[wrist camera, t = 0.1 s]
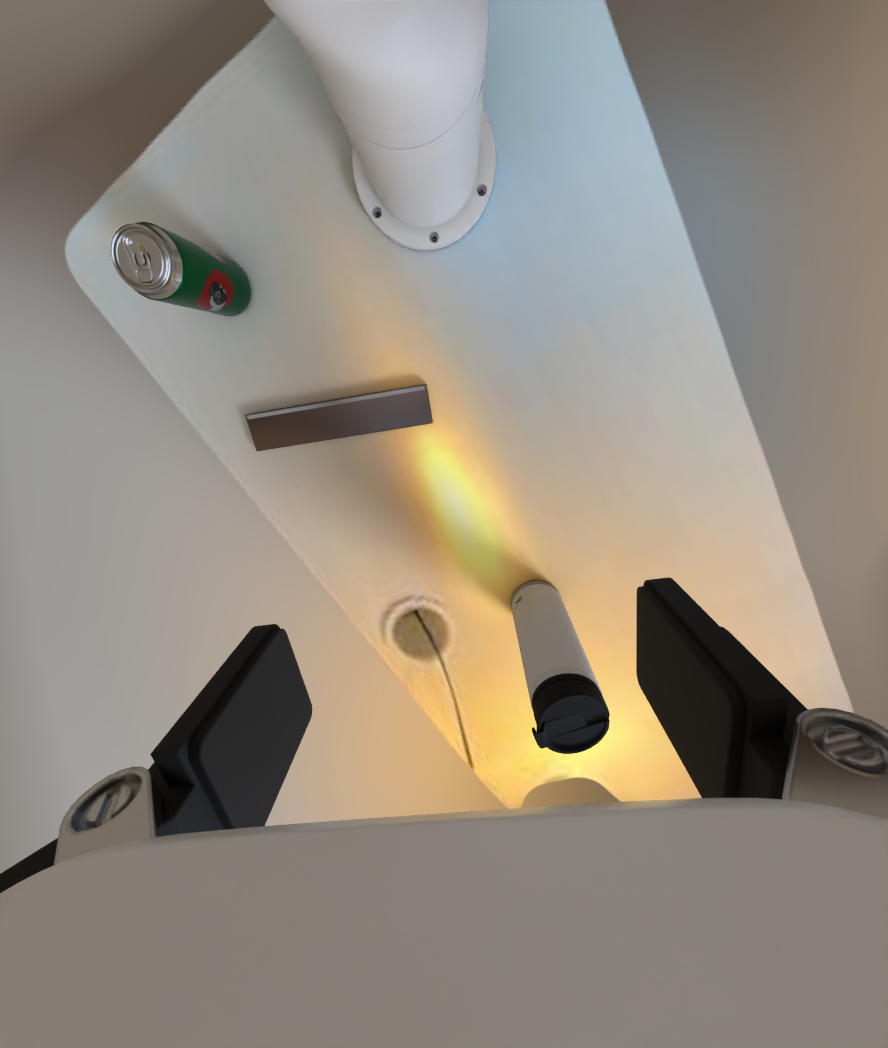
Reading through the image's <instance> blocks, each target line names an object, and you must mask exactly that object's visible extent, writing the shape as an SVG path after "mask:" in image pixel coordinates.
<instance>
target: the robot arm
mask: <svg viewBox="0 0 888 1048" xmlns="http://www.w3.org/2000/svg"><path fill="white" fill-rule="evenodd" d="M263 1H264V2H265V3H266V4H267V5H268V7H269V8H270V9H271V10H272V11H273V13H274V14H275V15H276V16H277V17H278V18H279V19H280V20H281V21H282V22H283V24H284V25H285V26H286V27H287V28H288V29H289V30H290V31H291V32H292V34H293V35H294V36H295V37H296V39H297V40H298V41H299V43H300V44H301V46H302V48H303V49H304V51H305V53H306V54H307V56H308V58H309V60H310V62H311V64H312V65H313V67H314V69H315V71H316V73H317V75H318V77H319V79H320V81H321V83H322V85H323V87H324V89H325V91H326V93H327V95H328V97H329V99H330V101H331V103H332V105H333V107H334V109H335V111H336V113H337V115H338V117H339V119H340V121H341V123H342V125H343V127H344V129H345V131H346V133H347V135H348V137H349V139H350V141H351V143H352V145H353V146H352V168H353V176H354V182H355V185H356V189H357V193H358V196H359V198H360V200H361V203H362V205H363V207H364V209H365V211H366V213H367V214H368V216H369V217H370V219H371V220H372V222H373V223H374V224H375V225H376V227H377V228H378V229H379V230H380V231H381V232H382V233H383V234H384V235H385V236H387V237H388V238H389V239H390V240H392V241H394V242H395V243H397V244H399V245H401V246H403V247H406V248H410V249H413V250H422V251H429V250H436V249H441V248H443V247H446V246H449V245H451V244H453V243H454V242H456V241H457V240H459V239H461V238H462V237H463V236H464V235H465V234H466V233H467V232H468V231H470V230H471V229H472V228H473V226H474V225H475V224H476V222H477V221H478V219H479V218H480V217H481V215H482V213H483V211H484V209H485V207H486V205H487V203H488V200H489V197H490V194H491V190H492V187H493V181H494V176H495V165H496V152H495V141H494V136H493V132H492V128H491V124H490V121H489V119H488V117H487V114H486V112H485V110H484V108H483V94H484V81H485V68H486V55H487V40H488V25H489V3H488V0H263ZM480 191H483V192H484V195H483V196H480V195H479V192H480ZM378 212H379V213H381V217H379V218H377V217H376V215H377V213H378ZM433 237H436V238H437V241H436V242H433V241H432V238H433ZM637 678H638V682H639V685H640V687H641V689H642V691H643V693H644V694H645V696H646V698H647V700H648V702H649V703H650V705H651V707H652V709H653V711H654V712H655V714H656V716H657V718H658V720H659V721H660V723H661V725H662V727H663V729H664V730H665V732H666V734H667V736H668V738H669V739H670V741H671V743H672V745H673V747H674V748H675V750H676V752H677V754H678V756H679V757H680V759H681V761H682V763H683V764H684V766H685V768H686V770H687V772H688V773H689V775H690V777H691V779H692V781H693V782H694V784H695V786H696V788H697V790H698V791H699V793H700V795H701V797H702V798H697V799H675V800H652V801H630V802H613V803H597V804H582V805H565V806H549V807H533V808H517V809H501V810H486V811H471V812H456V813H443V814H442V813H441V814H427V815H412V816H398V817H384V818H369V819H355V820H342V821H329V822H315V823H303V824H289V825H275V826H265V823H266V821H267V819H268V817H269V814H270V812H271V810H272V807H273V805H274V803H275V800H276V798H277V796H278V793H279V791H280V789H281V786H282V784H283V782H284V779H285V777H286V775H287V772H288V770H289V768H290V765H291V763H292V761H293V759H294V756H295V754H296V752H297V749H298V747H299V745H300V742H301V740H302V737H303V735H304V733H305V731H306V728H307V726H308V723H309V722H310V719H311V715H312V704H311V701H310V698H309V696H308V693H307V690H306V687H305V684H304V681H303V679H302V676H301V673H300V670H299V667H298V664H297V661H296V659H295V656H294V653H293V650H292V647H291V644H290V642H289V639H288V636H287V633H286V631H285V630H284V629H280V627H279V626H278V625H276V624H271V625H263V626H255V627H253V628H252V629H251V630H250V631H249V633H248V634H247V635H246V637H245V638H244V639H243V640H242V641H241V643H240V644H239V645H238V646H237V648H236V649H235V650H234V651H233V652H232V654H231V655H230V656H229V657H228V659H227V660H226V661H225V663H224V664H223V665H222V666H221V667H220V669H219V670H218V671H217V672H216V673H215V675H214V676H213V677H212V678H211V680H210V681H209V682H208V683H207V685H206V686H205V687H204V688H203V690H202V691H201V692H200V693H199V695H198V696H197V697H196V698H195V700H194V701H193V702H192V703H191V705H190V706H189V707H188V708H187V710H186V711H185V712H184V713H183V715H182V716H181V717H180V718H179V719H178V721H177V722H176V723H175V724H174V726H173V727H172V728H171V729H170V731H169V732H168V733H167V734H166V736H165V737H164V738H163V739H162V740H161V742H160V743H159V744H158V746H157V747H156V748H155V749H154V751H153V752H152V753H151V756H152V758H153V760H154V761H155V762H154V763H153V765H152V766H151V767H150V769H149V770H147V769H145V768H143V767H130V768H127V769H123V770H120V771H118V772H116V773H114V774H111V775H109V776H107V777H106V778H104V779H103V780H101V781H99V782H98V783H96V784H95V785H94V786H92V787H91V788H90V789H89V790H88V791H86V792H85V793H84V794H82V796H81V797H80V798H79V799H78V800H77V801H76V802H75V803H74V804H73V805H72V806H71V807H70V809H69V810H68V812H67V813H66V815H65V816H64V818H63V821H62V823H61V826H60V830H59V836H58V838H57V839H55V840H54V841H52V842H51V843H49V844H47V845H46V846H44V847H43V848H41V849H39V850H38V851H36V852H35V853H33V854H31V855H30V856H28V857H27V858H25V859H23V860H22V861H20V862H19V863H17V864H15V865H14V866H12V867H11V868H9V869H7V870H6V871H4V872H3V873H1V874H0V1048H888V729H887V728H885V727H883V726H881V725H879V724H877V723H875V722H874V721H872V720H870V719H867V718H864V717H862V716H859V715H857V714H854V713H851V712H846V711H842V710H838V709H829V708H816V709H809V710H808V709H806V708H805V707H804V706H803V705H802V704H801V703H800V702H799V701H798V700H797V699H796V698H795V697H794V696H793V695H792V694H791V693H790V692H789V691H788V690H787V689H786V688H785V687H784V686H783V685H782V684H781V683H780V682H779V681H778V680H777V679H776V678H775V677H774V676H773V675H772V674H771V673H770V672H769V671H768V670H767V669H766V668H765V667H764V666H763V665H762V664H761V663H760V662H759V661H758V660H757V659H756V658H755V657H754V656H753V655H752V654H751V653H750V652H749V651H748V650H747V649H746V648H745V647H744V646H743V645H742V644H741V643H740V642H739V641H738V640H737V639H736V638H735V637H734V636H733V635H732V634H731V633H730V632H729V631H727V630H726V629H725V628H723V627H720V626H719V625H718V624H717V623H716V622H715V621H714V620H713V619H712V618H711V617H710V616H709V615H708V614H707V613H706V612H705V611H704V610H703V609H702V608H701V607H700V606H699V605H698V604H697V603H696V602H695V601H694V600H693V599H692V598H691V597H690V596H689V595H688V594H687V593H686V592H685V591H684V590H683V589H682V588H681V587H680V586H679V585H678V584H677V583H676V582H675V581H674V580H673V579H671V578H661V579H652V580H646V581H645V582H644V586H642V587H638V589H637Z"/></svg>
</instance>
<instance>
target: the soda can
mask: <svg viewBox="0 0 888 1048" xmlns="http://www.w3.org/2000/svg"><path fill="white" fill-rule="evenodd" d="M111 256H112V260H113V263H114V266H115V268H116V270H117V272H118V274H119V275H120V277H121V278H122V279H123V280H124V281H125V282H126V283H127V284H128V285H129V286H131V287H132V288H133V289H134V290H135V291H137V292H138V293H139V294H141V295H142V296H144V297H146V298H149V299H152V300H156V301H161V302H165V303H170V304H174V305H179V306H184V307H188V308H193V309H197V310H202V311H206V312H211V313H215V314H220V315H225V316H235V315H238V314H240V313H241V312H242V311H244V310H245V308H246V307H247V305H248V303H249V301H250V295H251V290H250V284H249V280H248V278H247V276H246V274H245V272H244V271H243V269H242V268H241V267H240V266H239V265H238V264H236V263H235V262H233V261H232V260H230V259H228V258H225V257H223V256H221V255H219V254H217V253H215V252H213V251H210V250H208V249H206V248H204V247H202V246H200V245H198V244H195V243H193V242H191V241H189V240H187V239H185V238H182V237H180V236H178V235H176V234H174V233H172V232H170V231H167V230H165V229H163V228H161V227H159V226H157V225H154V224H151V223H147V222H139V223H135V224H127V225H124V226H122V227H121V228H120V229H118V230H117V232H116V233H115V235H114V237H113V239H112V243H111Z"/></svg>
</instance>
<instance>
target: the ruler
mask: <svg viewBox="0 0 888 1048" xmlns="http://www.w3.org/2000/svg"><path fill="white" fill-rule="evenodd" d="M245 416H246V419H247V422H248V425H249V428H250V431H251V435H252V438H253V441H254V444H255V447H256V450H257V451H261V450H267V449H274V448H280V447H286V446H292V445H299V444H305V443H311V442H318V441H324V440H330V439H336V438H343V437H349V436H355V435H361V434H368V433H374V432H380V431H386V430H393V429H399V428H405V427H411V426H418V425H424V424H430V423H433V420H432V414H431V408H430V402H429V396H428V390H427V385H426V384H424V385H418V386H412V387H406V388H400V389H395V390H389V391H383V392H377V393H371V394H365V395H359V396H353V397H347V398H341V399H335V400H329V401H324V402H318V403H312V404H306V405H300V406H294V407H288V408H282V409H276V410H270V411H264V412H258V413H253V414H247V415H245Z"/></svg>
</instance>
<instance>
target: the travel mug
mask: <svg viewBox="0 0 888 1048" xmlns="http://www.w3.org/2000/svg"><path fill="white" fill-rule="evenodd" d="M511 608H512V612H513V618H514V623H515V628H516V633H517V637H518V642H519V647H520V652H521V657H522V662H523V667H524V672H525V677H526V682H527V686H528V691H529V696H530V700H531V706H532V709H533V712H534V717H535V721H536V723H537V732H536V731H535V729H534V728H532V732H533V735H534V738H535V740H536V742H537V744H538V746H539V747H540V748H545V747H547V748H549V749H550V750H552V751H555V752H558V753H563V754H572V753H578V752H582V751H585V750H587V749H589V748H591V747H593V746H594V745H596V744H597V743H598V742H599V741H600V740H601V739H602V738H603V737H604V736H605V734H606V733H607V731H608V729H609V711H608V708H607V705H606V703H605V701H604V699H603V696H602V693H601V690H600V687H599V685H598V683H597V680H596V678H595V676H594V673H593V671H592V669H591V666H590V664H589V662H588V659H587V657H586V655H585V652H584V650H583V648H582V645H581V643H580V641H579V638H578V636H577V634H576V631H575V629H574V627H573V624H572V622H571V620H570V617H569V615H568V613H567V610H566V608H565V606H564V603H563V601H562V599H561V596H560V594H559V592H558V590H557V589H556V588H555V587H554V586H553V585H551V584H550V583H548V582H544V581H538V580H537V581H530V582H527V583H524V584H522V585H521V586H519V587H518V588H517V589H516V590H515V592H514V593H513V596H512V598H511Z"/></svg>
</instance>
